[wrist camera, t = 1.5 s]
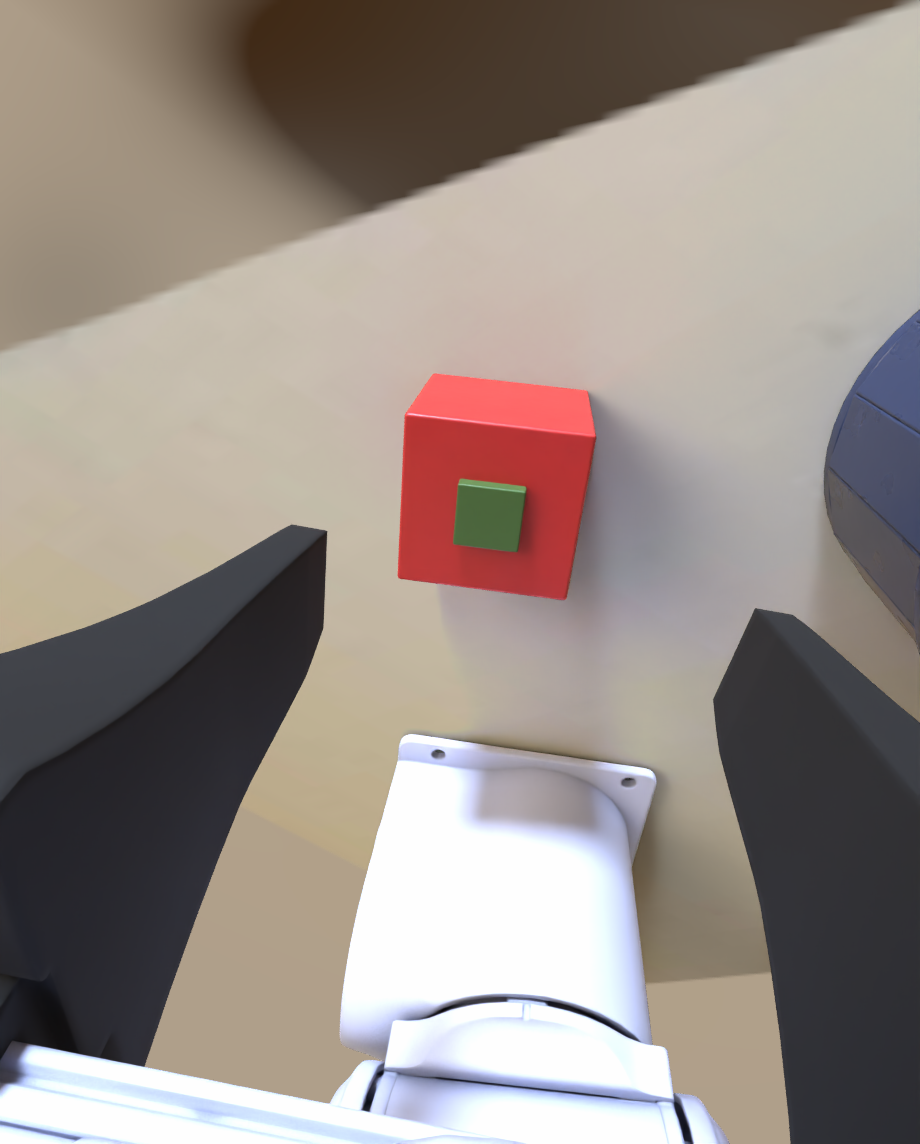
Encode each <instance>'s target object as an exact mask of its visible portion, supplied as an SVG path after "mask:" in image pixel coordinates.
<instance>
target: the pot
mask: <svg viewBox="0 0 920 1144" xmlns="http://www.w3.org/2000/svg"><path fill="white" fill-rule="evenodd" d="M824 496H825V502H826V508H827V514H828V517H829V520H830V523H831V526H832V529H833V532H834V535H835V536H836V538H837V539H838V541H839V543H840V545H841V547H842V549H843V550H844V552H845V553H846V554H847V555H848V557H849V558H850V559H851V560H852V562H853V564H854V565H855V567H856V568H857V570H858V571H859V573H860V574H861V576H862V577H863V579H864V580H865V582H866V583H867V584H868V585H869V586H870V588H871V589H872V590H873V591H874V592H875V594H876V595H877V596H878V597H879V598H880V600H881V601H882V602H883V603H884V605H885V606H886V607H887V608H888V609H889V611H890V612H891V613H892V614H893V615H894V617H895V618H896V619H897V620H898V622H899V623H900V624H901V625H902V626H903V628H904V629H905V630H906V631H907V632H908V634H909V635H910V636H911V637H912V639H913V640H914V641H915V642H916V635H915V627H914V618H913V613H914V596H915V584H916V580H917V575H918V571H919V566H920V310H919V311H918V312H916V313H915V314H914V315H913V316H912V317H911V318H910V319H909V320H908V321H906V322H905V323H904V324H903V325H902V326H901V327H900V328H899V329H898V330H896V331H895V333H894V334H893V335H892V336H891V337H890V338H889V339H888V340H887V341H886V342H885V344H884V345H883V346H882V347H881V348H880V349H879V350H878V351H877V352H876V353H875V355H874V356H873V358H872V359H871V360H870V362H869V363H868V364H867V366H866V367H865V368H864V370H863V371H862V373H861V374H860V375H859V377H858V378H857V380H856V382H855V383H854V385H853V387H852V389H851V390H850V392H849V394H848V396H847V397H846V399H845V401H844V403H843V405H842V408H841V410H840V412H839V415H838V417H837V419H836V422H835V424H834V427H833V430H832V434H831V438H830V441H829V445H828V448H827V454H826V461H825V468H824Z"/></svg>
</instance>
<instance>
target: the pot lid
mask: <svg viewBox="0 0 920 1144" xmlns="http://www.w3.org/2000/svg"><path fill="white" fill-rule="evenodd" d="M913 618H914V627H915V635H916V644H917V648H918V651H919V654H920V566H919V571H918V575H917V580H916V584H915V596H914V613H913Z"/></svg>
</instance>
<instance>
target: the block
mask: <svg viewBox="0 0 920 1144" xmlns="http://www.w3.org/2000/svg"><path fill="white" fill-rule="evenodd" d="M595 442H596V433H595V428H594V422H593V417H592V412H591V406H590V401H589V396H588V392H587V391H585V390H576V389H567V388H558V387H549V386H540V385H531V384H522V383H513V382H504V381H495V380H486V379H477V378H469V377H460V376H451V375H442V374H433V375H432V376H431V378H430V379H429V381H428V382H427V383H426V385H425V386H424V388H423V389H422V391H421V392H420V394H419V395H418V396H417V398H416V399H415V401H414V402H413V404H412V405H411V407H410V408H409V409H408V411H407V412H406V414H405V422H404V445H403V467H402V490H401V512H400V534H399V557H398V578H400V579H406V580H413V581H421V582H428V583H436V584H444V585H451V586H459V587H466V588H474V589H482V590H489V591H497V592H504V593H512V594H520V595H527V596H535V597H542V598H550V599H558V600H565V599H566V598H567V594H568V589H569V583H570V578H571V572H572V567H573V561H574V556H575V551H576V545H577V540H578V534H579V529H580V524H581V518H582V513H583V507H584V502H585V497H586V491H587V486H588V480H589V475H590V469H591V464H592V459H593V453H594V448H595Z"/></svg>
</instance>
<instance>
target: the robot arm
mask: <svg viewBox="0 0 920 1144" xmlns="http://www.w3.org/2000/svg"><path fill="white" fill-rule="evenodd" d="M326 547H327V531H325V530H319V529H314V528H308V527H303V526H297V525H290V526H288V527H286V528H284V529H282V530H280V531H279V532H277V533H275V534H273V535H272V536H270V537H268V538H267V539H265V540H263V541H262V542H260V543H258V544H257V545H255V546H253V547H251V548H250V549H248V550H246V551H245V552H243V553H241V554H239V555H238V556H236V557H234V558H232V559H231V560H229V561H227V562H225V563H224V564H222V565H220V566H218V567H217V568H215V569H213V570H211V571H210V572H208V573H206V574H204V575H202V576H200V577H198V578H196V579H194V580H192V581H190V582H188V583H186V584H184V585H182V586H180V587H178V588H176V589H174V590H172V591H170V592H168V593H166V594H164V595H162V596H160V597H158V598H156V599H154V600H152V601H150V602H147V603H145V604H143V605H141V606H138V607H136V608H134V609H131V610H129V611H127V612H124V613H122V614H119V615H116V616H114V617H111V618H109V619H106V620H104V621H101V622H99V623H96V624H93V625H91V626H88V627H85V628H82V629H79V630H76V631H73V632H70V633H67V634H64V635H61V636H57V637H54V638H51V639H48V640H45V641H42V642H39V643H35V644H32V645H29V646H26V647H23V648H20V649H16V650H13V651H9V652H5V653H2V654H0V1144H729V1141H728V1139H727V1137H726V1136H725V1134H724V1132H723V1130H722V1129H721V1128H720V1127H719V1125H718V1124H717V1123H716V1122H715V1121H714V1119H713V1118H712V1117H711V1116H710V1115H709V1113H708V1111H707V1109H706V1107H705V1106H704V1105H703V1103H702V1102H701V1101H700V1100H699V1098H698V1097H696V1096H693V1095H687V1094H678V1093H677V1094H676V1093H674V1094H673V1088H672V1081H671V1074H670V1067H669V1059H668V1051H667V1049H665V1048H664V1047H661V1046H654V1045H653V1044H652V1035H651V1027H650V1019H649V1010H648V1002H647V994H646V985H645V977H644V968H643V960H642V951H641V943H640V935H639V926H638V918H637V909H636V901H635V893H634V884H633V876H632V864H633V861H634V858H635V854H636V851H637V848H638V845H639V841H640V838H641V835H642V832H643V828H644V825H645V822H646V819H647V815H648V812H649V809H650V806H651V802H652V799H653V796H654V792H655V789H656V783H657V782H656V777H655V775H654V773H653V772H652V771H651V770H649V769H646V768H640V767H633V766H627V765H620V764H613V763H606V762H599V761H592V760H585V759H579V758H572V757H565V756H558V755H551V754H544V753H538V752H531V751H524V750H517V749H510V748H503V747H497V746H490V745H483V744H476V743H469V742H462V741H455V740H449V739H442V738H435V737H428V736H421V735H414V734H409V735H406V736H404V737H403V738H402V739H401V742H400V746H399V754H398V763H397V767H396V770H395V774H394V778H393V781H392V785H391V788H390V792H389V796H388V799H387V803H386V807H385V810H384V814H383V818H382V821H381V825H380V827H379V830H378V833H377V837H376V841H375V846H374V850H373V854H372V857H371V861H370V865H369V868H368V872H367V876H366V879H365V883H364V887H363V890H362V895H361V898H360V903H359V907H358V911H357V916H356V921H355V925H354V930H353V935H352V940H351V945H350V950H349V955H348V961H347V967H346V973H345V980H344V987H343V995H342V1004H341V1016H340V1040H341V1043H342V1045H344V1046H345V1047H347V1048H350V1049H352V1050H355V1051H358V1052H361V1053H364V1054H368V1055H370V1056H372V1057H375V1058H377V1059H380V1060H382V1061H374V1060H366V1061H363V1062H362V1063H361V1064H360V1065H359V1066H358V1067H357V1068H356V1069H355V1070H354V1072H353V1074H352V1075H351V1076H350V1077H349V1078H348V1079H347V1080H346V1081H345V1082H344V1083H343V1084H342V1085H341V1086H340V1088H339V1089H338V1090H337V1092H336V1093H335V1095H334V1097H333V1098H332V1100H331V1102H330V1104H326V1103H321V1102H316V1101H311V1100H306V1099H301V1098H296V1097H291V1096H286V1095H281V1094H276V1093H271V1092H266V1091H261V1090H256V1089H251V1088H246V1087H241V1086H236V1085H231V1084H226V1083H221V1082H216V1081H211V1080H206V1079H201V1078H196V1077H191V1076H186V1075H181V1074H176V1073H171V1072H166V1071H161V1070H156V1069H151V1068H146V1067H144V1066H145V1063H146V1060H147V1057H148V1054H149V1051H150V1048H151V1045H152V1042H153V1039H154V1036H155V1033H156V1031H157V1028H158V1025H159V1022H160V1019H161V1016H162V1013H163V1010H164V1007H165V1004H166V1001H167V998H168V995H169V992H170V989H171V986H172V983H173V981H174V978H175V975H176V972H177V969H178V967H179V964H180V961H181V958H182V955H183V953H184V950H185V947H186V944H187V942H188V939H189V936H190V933H191V930H192V928H193V925H194V922H195V919H196V917H197V914H198V911H199V909H200V906H201V903H202V901H203V898H204V896H205V893H206V890H207V887H208V885H209V882H210V879H211V877H212V874H213V872H214V869H215V866H216V864H217V861H218V858H219V856H220V853H221V851H222V848H223V846H224V844H225V841H226V838H227V836H228V833H229V831H230V828H231V826H232V823H233V821H234V818H235V816H236V813H237V811H238V808H239V806H240V804H241V802H242V799H243V797H244V795H245V793H246V791H247V789H248V787H249V785H250V782H251V780H252V779H253V777H254V775H255V773H256V771H257V769H258V767H259V765H260V763H261V761H262V760H263V758H264V756H265V754H266V752H267V750H268V748H269V746H270V744H271V742H272V741H273V739H274V737H275V735H276V733H277V731H278V729H279V727H280V725H281V723H282V722H283V720H284V718H285V716H286V714H287V712H288V710H289V708H290V706H291V704H292V702H293V701H294V699H295V697H296V695H297V693H298V691H299V689H300V687H301V685H302V683H303V681H304V679H305V677H306V675H307V672H308V669H309V667H310V664H311V661H312V659H313V656H314V653H315V650H316V647H317V645H318V642H319V639H320V636H321V633H322V630H323V623H324V598H325V573H326ZM713 702H714V712H715V722H716V731H717V738H718V745H719V752H720V757H721V761H722V764H723V768H724V772H725V776H726V779H727V783H728V787H729V790H730V794H731V798H732V801H733V805H734V808H735V812H736V816H737V819H738V823H739V826H740V830H741V833H742V837H743V840H744V844H745V848H746V851H747V855H748V858H749V862H750V865H751V869H752V872H753V876H754V880H755V884H756V889H757V893H758V897H759V902H760V906H761V912H762V918H763V924H764V930H765V936H766V942H767V948H768V954H769V960H770V966H771V973H772V981H773V988H774V995H775V1002H776V1010H777V1017H778V1024H779V1031H780V1040H781V1049H782V1058H783V1068H784V1078H785V1087H786V1096H787V1106H788V1115H789V1126H790V1127H789V1128H790V1141H791V1144H920V723H919V722H918V721H917V720H916V719H915V718H913V717H912V716H911V715H910V714H909V713H907V712H906V711H905V710H904V709H903V708H901V707H900V706H899V705H898V704H897V703H895V702H894V701H893V700H892V699H891V698H890V697H888V696H887V695H886V694H885V693H884V692H883V691H881V690H880V689H879V688H878V687H877V686H876V685H875V684H873V683H872V682H871V681H870V680H869V679H868V678H867V677H865V676H864V675H863V674H862V673H861V672H860V671H859V670H858V669H856V668H855V667H854V666H853V665H852V664H851V663H850V662H848V661H847V660H846V659H845V658H844V657H843V656H842V655H841V654H839V653H838V652H837V651H836V650H835V649H834V648H833V647H831V646H830V645H829V644H828V643H827V642H826V641H825V640H823V639H822V638H821V637H820V636H819V635H818V634H816V633H815V632H814V631H813V630H812V629H810V628H809V627H808V626H807V625H805V624H804V623H803V622H801V621H800V620H799V619H797V618H796V617H795V616H793V615H790V614H784V613H779V612H773V611H768V610H762V609H757V608H755V610H754V612H753V614H752V617H751V619H750V621H749V623H748V625H747V627H746V630H745V632H744V634H743V636H742V638H741V640H740V643H739V645H738V647H737V649H736V651H735V653H734V656H733V658H732V660H731V662H730V664H729V666H728V669H727V671H726V673H725V675H724V677H723V679H722V682H721V684H720V686H719V688H718V690H717V692H716V695H715V697H714V699H713ZM435 750H442V751H443V753H438V752H436V751H435ZM625 778H632V780H624V779H625ZM383 1061H384V1062H383Z"/></svg>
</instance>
